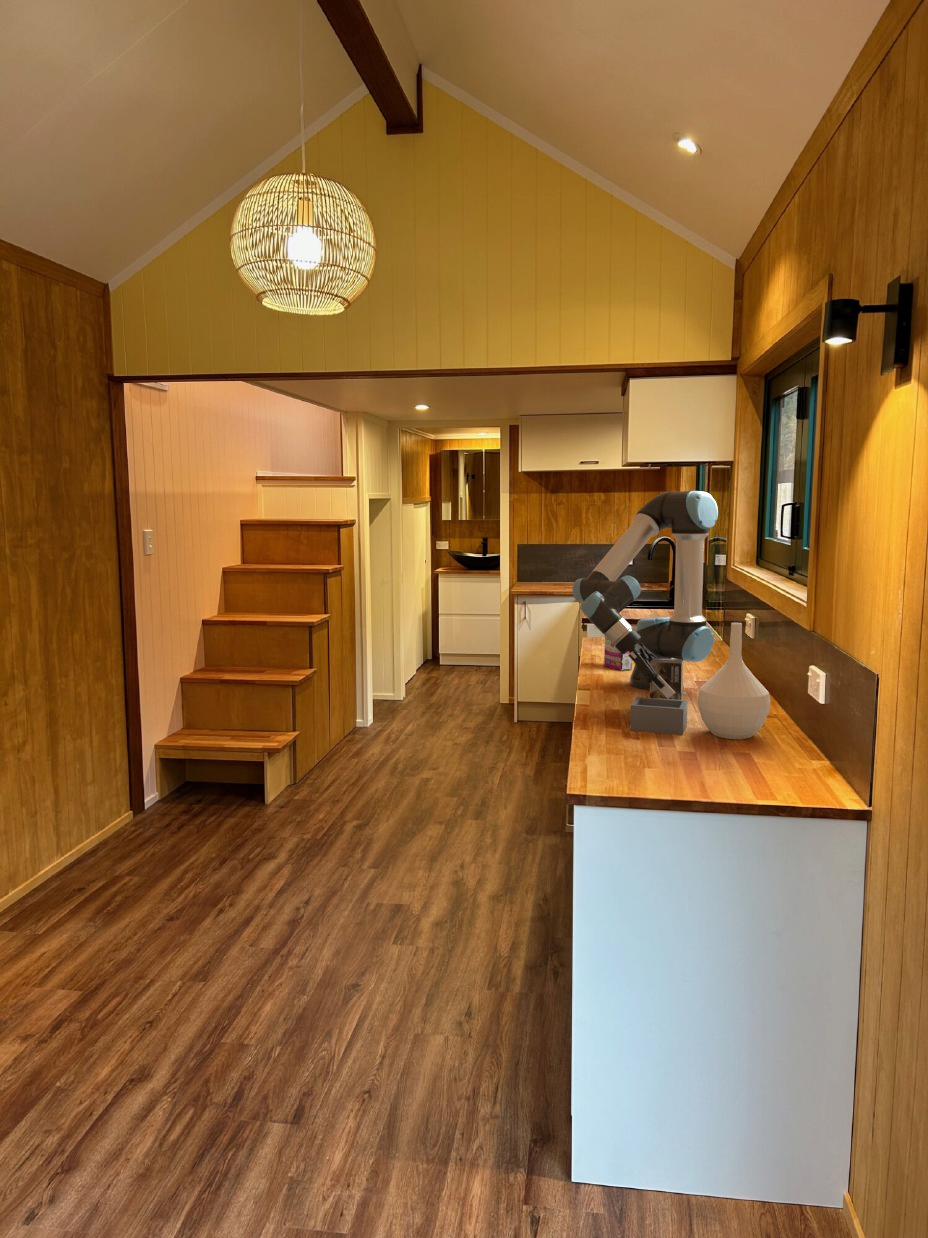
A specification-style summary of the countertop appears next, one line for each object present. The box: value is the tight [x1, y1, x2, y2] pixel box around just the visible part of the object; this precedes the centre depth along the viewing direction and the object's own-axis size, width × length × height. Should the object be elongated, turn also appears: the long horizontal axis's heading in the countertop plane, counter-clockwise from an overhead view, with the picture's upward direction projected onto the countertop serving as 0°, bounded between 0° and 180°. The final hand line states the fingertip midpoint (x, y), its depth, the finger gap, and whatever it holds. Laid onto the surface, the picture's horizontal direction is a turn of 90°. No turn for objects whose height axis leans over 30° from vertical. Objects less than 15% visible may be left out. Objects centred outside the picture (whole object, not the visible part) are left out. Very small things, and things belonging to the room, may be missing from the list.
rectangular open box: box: [629, 696, 688, 736], centre depth 233 cm, size 11×14×7 cm
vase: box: [697, 622, 771, 740], centre depth 225 cm, size 18×18×30 cm
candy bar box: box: [603, 626, 634, 672], centre depth 319 cm, size 11×5×16 cm, turn 27°
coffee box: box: [649, 658, 684, 700], centre depth 248 cm, size 9×6×16 cm
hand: (674, 690), depth 247 cm, fingers open, 13 cm apart
